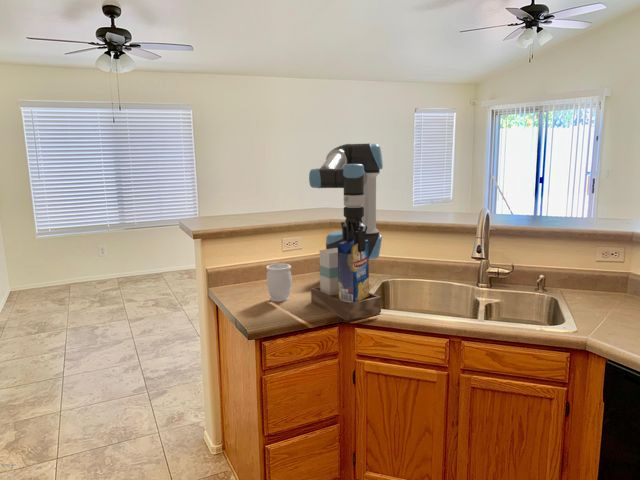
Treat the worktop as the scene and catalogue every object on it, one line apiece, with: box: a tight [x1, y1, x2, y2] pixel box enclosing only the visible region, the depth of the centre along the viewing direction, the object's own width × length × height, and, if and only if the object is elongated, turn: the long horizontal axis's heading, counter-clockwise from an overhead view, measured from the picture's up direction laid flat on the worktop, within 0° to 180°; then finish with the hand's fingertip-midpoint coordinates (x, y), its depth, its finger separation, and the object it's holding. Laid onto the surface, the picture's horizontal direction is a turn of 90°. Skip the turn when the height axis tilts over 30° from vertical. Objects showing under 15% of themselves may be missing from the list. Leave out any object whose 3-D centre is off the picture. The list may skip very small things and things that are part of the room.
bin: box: [310, 286, 382, 324], centre depth 183 cm, size 16×25×7 cm, turn 32°
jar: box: [266, 262, 293, 304], centre depth 195 cm, size 11×10×15 cm
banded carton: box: [319, 248, 339, 295], centre depth 187 cm, size 11×7×22 cm, turn 122°
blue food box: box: [338, 240, 370, 303], centre depth 175 cm, size 7×11×22 cm, turn 144°
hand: (353, 267), depth 175 cm, fingers closed on blue food box, 3 cm apart
